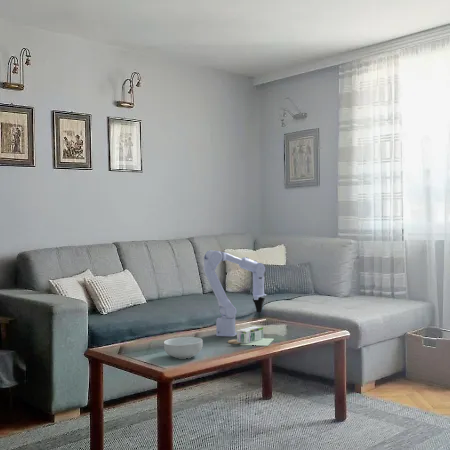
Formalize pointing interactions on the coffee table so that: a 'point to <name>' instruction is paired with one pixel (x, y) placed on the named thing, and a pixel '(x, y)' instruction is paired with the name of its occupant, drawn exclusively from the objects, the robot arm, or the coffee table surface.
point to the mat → (259, 342)
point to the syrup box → (249, 334)
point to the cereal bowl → (183, 347)
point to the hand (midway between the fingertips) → (259, 312)
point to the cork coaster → (233, 341)
